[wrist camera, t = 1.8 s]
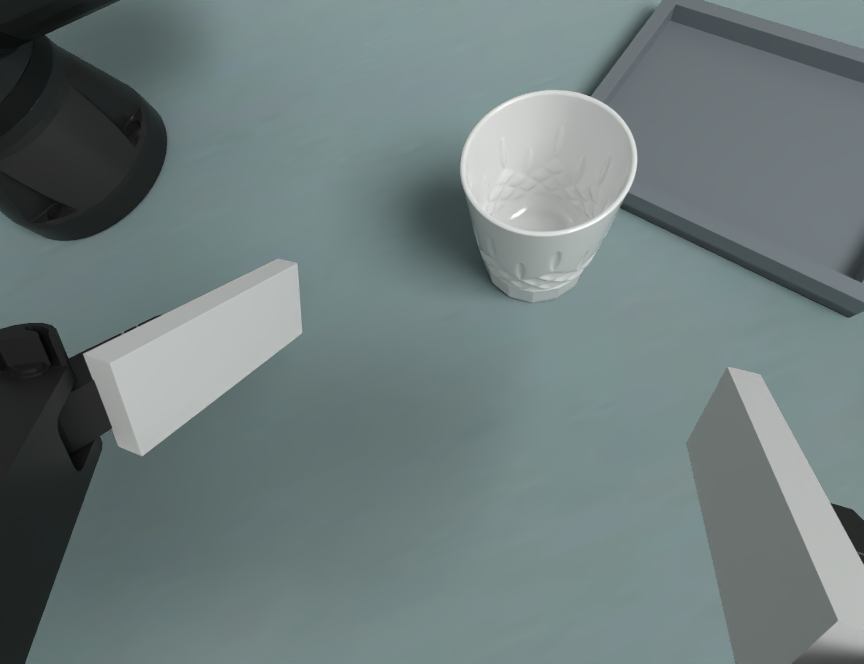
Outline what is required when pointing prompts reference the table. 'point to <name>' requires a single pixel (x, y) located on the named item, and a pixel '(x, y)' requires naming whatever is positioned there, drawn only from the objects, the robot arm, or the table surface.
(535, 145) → the white cup
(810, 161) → the tray
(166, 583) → the table surface
